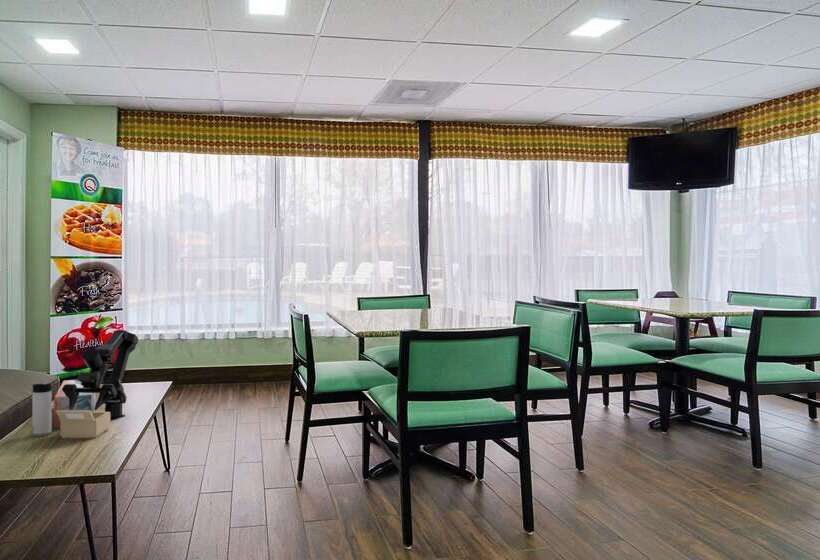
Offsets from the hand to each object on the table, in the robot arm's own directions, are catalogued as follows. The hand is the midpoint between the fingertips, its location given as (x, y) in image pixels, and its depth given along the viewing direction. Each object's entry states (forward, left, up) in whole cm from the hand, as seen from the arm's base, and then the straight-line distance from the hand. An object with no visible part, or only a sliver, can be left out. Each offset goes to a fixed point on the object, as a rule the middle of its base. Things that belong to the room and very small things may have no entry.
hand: (82, 409), depth 227 cm
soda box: (-24, -27, -11) cm, 38 cm away
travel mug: (+3, -16, -10) cm, 19 cm away
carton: (-3, -1, -10) cm, 10 cm away
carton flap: (+5, +2, -1) cm, 5 cm away
